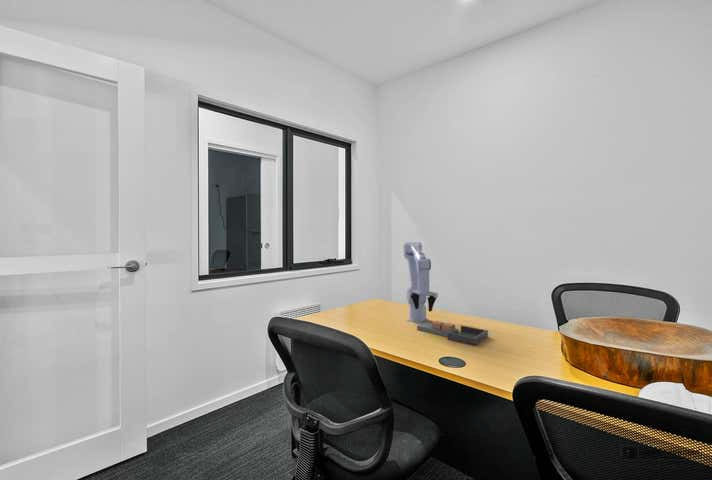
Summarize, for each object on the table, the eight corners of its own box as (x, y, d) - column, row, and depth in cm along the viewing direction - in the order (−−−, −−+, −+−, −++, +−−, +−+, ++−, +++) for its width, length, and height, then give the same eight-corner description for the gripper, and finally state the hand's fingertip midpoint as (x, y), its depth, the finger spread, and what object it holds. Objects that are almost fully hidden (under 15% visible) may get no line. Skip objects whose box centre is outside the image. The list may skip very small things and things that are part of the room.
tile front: (446, 327, 159) (446, 322, 159) (455, 329, 156) (455, 324, 156) (441, 329, 156) (441, 324, 156) (450, 331, 153) (450, 326, 153)
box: (461, 331, 159) (461, 325, 159) (487, 336, 151) (487, 330, 151) (447, 339, 148) (447, 332, 148) (475, 345, 140) (475, 338, 140)
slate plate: (425, 326, 169) (425, 322, 169) (458, 333, 157) (458, 329, 157) (417, 329, 163) (417, 325, 163) (451, 337, 151) (451, 333, 151)
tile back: (435, 325, 163) (435, 320, 163) (444, 327, 160) (444, 322, 160) (431, 327, 159) (431, 322, 159) (440, 329, 156) (440, 324, 156)
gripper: (406, 282, 166) (406, 309, 166) (432, 285, 156) (432, 313, 157) (414, 280, 171) (414, 306, 171) (439, 283, 161) (439, 311, 162)
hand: (423, 309), depth 164 cm, fingers open, 7 cm apart
